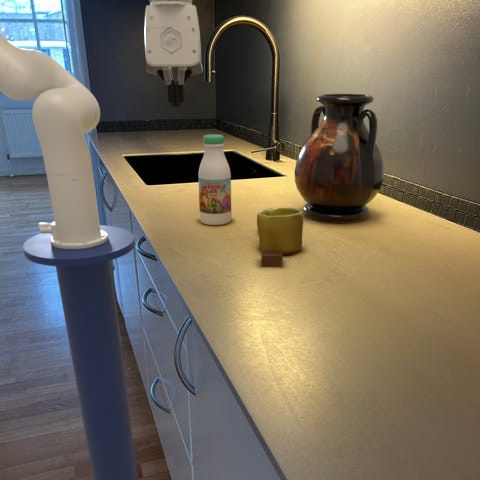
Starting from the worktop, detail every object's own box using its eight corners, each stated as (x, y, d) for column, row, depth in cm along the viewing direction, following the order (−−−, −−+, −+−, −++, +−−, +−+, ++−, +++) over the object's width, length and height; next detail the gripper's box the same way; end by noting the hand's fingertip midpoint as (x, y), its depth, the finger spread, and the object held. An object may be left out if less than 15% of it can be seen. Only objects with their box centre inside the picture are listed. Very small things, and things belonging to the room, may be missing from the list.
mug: (318, 247, 101) (303, 199, 99) (270, 266, 101) (253, 218, 98) (303, 240, 113) (289, 197, 110) (260, 256, 113) (245, 213, 110)
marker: (261, 266, 98) (261, 254, 97) (261, 261, 100) (261, 249, 99) (282, 266, 98) (282, 255, 97) (281, 261, 100) (281, 249, 99)
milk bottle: (197, 217, 128) (194, 133, 119) (228, 216, 129) (227, 132, 120) (202, 226, 121) (199, 138, 112) (234, 224, 123) (233, 137, 113)
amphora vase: (396, 217, 128) (413, 95, 115) (339, 233, 116) (350, 100, 103) (332, 200, 143) (340, 91, 130) (275, 213, 131) (278, 95, 118)
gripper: (125, -5, 89) (135, 108, 98) (210, -6, 89) (213, 108, 97) (134, -1, 96) (143, 105, 104) (213, -1, 95) (216, 105, 104)
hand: (176, 106), depth 101 cm, fingers closed
